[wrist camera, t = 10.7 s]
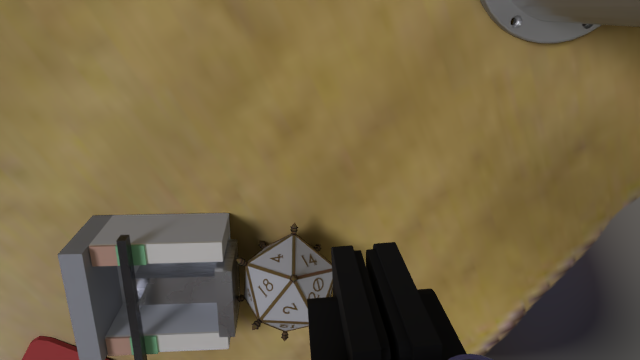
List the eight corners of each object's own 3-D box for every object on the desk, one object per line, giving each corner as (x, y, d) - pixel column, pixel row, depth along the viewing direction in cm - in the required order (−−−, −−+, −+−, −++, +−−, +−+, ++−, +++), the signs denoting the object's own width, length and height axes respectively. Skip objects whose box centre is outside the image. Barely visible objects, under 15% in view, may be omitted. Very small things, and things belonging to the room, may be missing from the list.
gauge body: (228, 212, 39) (219, 250, 33) (234, 309, 42) (227, 359, 36) (92, 215, 38) (57, 254, 32) (109, 314, 41) (80, 365, 35)
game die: (281, 220, 44) (288, 192, 34) (352, 278, 43) (379, 266, 34) (215, 297, 41) (203, 289, 31) (290, 360, 40) (301, 372, 31)
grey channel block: (235, 207, 38) (228, 238, 33) (241, 326, 42) (236, 370, 37) (136, 208, 37) (113, 240, 32) (152, 329, 41) (134, 375, 36)
